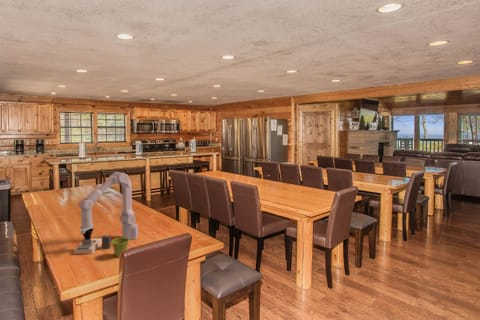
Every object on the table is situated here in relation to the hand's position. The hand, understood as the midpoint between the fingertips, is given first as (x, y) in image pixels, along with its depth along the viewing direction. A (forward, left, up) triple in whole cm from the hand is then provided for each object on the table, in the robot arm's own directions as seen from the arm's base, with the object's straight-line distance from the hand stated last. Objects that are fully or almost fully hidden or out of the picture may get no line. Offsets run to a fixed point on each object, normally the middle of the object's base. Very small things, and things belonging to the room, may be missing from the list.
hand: (87, 241), depth 186 cm
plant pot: (-22, +11, -5) cm, 25 cm away
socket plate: (0, -2, -4) cm, 5 cm away
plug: (-10, -1, -4) cm, 11 cm away
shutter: (0, +5, -2) cm, 5 cm away
